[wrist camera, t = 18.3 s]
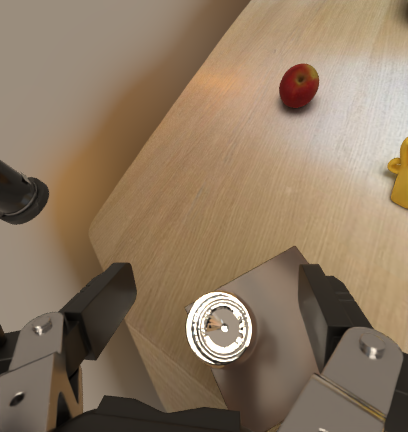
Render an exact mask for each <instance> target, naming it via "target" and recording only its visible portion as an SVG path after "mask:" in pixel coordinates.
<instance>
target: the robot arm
mask: <svg viewBox="0 0 408 432" xmlns="http://www.w3.org/2000/svg"><path fill="white" fill-rule="evenodd" d="M21 174H22V175H21ZM21 174H20V173H19V172H17V171H16V170H14V169H13V168H11V167H10V166H8V165H7V164H5V163H4V162H3V161H1V160H0V216H1V217H5V216H16V215H19V214H21V213H23V212H25V211H26V210H28V209H29V208H30V207H31V206H32V205H33V203H34V202H35V200H36V199H37V196H38V186H37V185H36V184H35V183H34V182H32V181H31V180H29V179H28V178H27V177H26V175H24V174H23V173H21ZM136 294H137V290H136V285H135V280H134V275H133V270H132V266H131V264H130V263H113V264H112V265H111V266H110V267H109V268H108V269H107V270H106V271H104V272H103V273H102V274H100V275H98V276H97V277H95V278H93V279H92V280H91V281H90V282H89V283H88V284H87V285H86V287H84V288H83V289H82V290H81V291H80V293H77V294H76V295H75V296H74V297H73V298H72V299H71V300H70V301H69V302H68V303H67V304H66V305H65V306H64V307H63V308H62V309H61V310H60V311H59V312H50V313H46V314H43V315H41V316H38V317H36V318H35V319H33V320H32V321H30V322H29V323H27V324H26V325H25V326H24V327H23V328H22V330H20V331H15V332H10V333H4V331H3V329H2V327H1V325H0V432H253V431H251V430H250V429H248V428H246V427H244V426H242V425H241V414H240V411H233V410H225V409H216V408H208V407H201V408H196V409H190V410H184V411H178V412H172V413H164V412H161V411H159V410H157V409H155V408H153V407H151V406H149V405H147V404H144V403H142V402H140V401H138V400H136V399H132V398H123V397H115V396H106V395H104V397H103V399H102V401H101V403H100V404H99V406H98V408H97V409H94V410H90V411H87V412H84V413H83V391H82V390H83V389H82V368H81V366H80V364H81V363H82V361H83V360H84V359H86V360H97V358H98V357H99V355H100V354H101V352H102V350H103V349H104V348H105V346H106V345H107V343H108V341H109V340H110V338H111V337H112V335H113V334H114V332H115V331H116V329H117V327H118V326H119V324H120V323H121V322H122V320H123V319H124V317H125V316H126V314H127V312H128V311H129V309H130V308H131V306H132V305H133V303H134V302H135V299H136ZM298 304H299V309H300V312H301V315H302V318H303V322H304V325H305V328H306V331H307V334H308V338H309V341H310V344H311V347H312V350H313V354H314V357H315V360H316V363H317V366H318V370H319V373H320V375H318V374H317V373H314V374H312V375H311V377H310V378H309V380H308V381H307V383H306V384H305V386H304V388H303V389H302V391H301V393H300V394H299V396H298V397H297V399H296V401H295V402H294V404H293V406H292V407H291V409H290V410H289V412H288V414H287V415H286V417H285V419H284V420H283V422H282V423H281V425H280V427H279V428H278V430H277V432H408V354H406V353H404V352H402V351H401V349H400V348H399V346H398V345H397V344H396V343H395V342H394V341H393V340H392V339H391V338H389V337H388V336H386V335H385V334H383V333H381V332H379V331H376V330H374V329H373V327H372V326H371V324H370V323H369V321H368V320H367V318H366V317H365V315H364V314H363V312H362V311H361V309H360V308H359V306H358V304H357V303H356V302H355V301H354V298H353V297H352V295H351V294H350V293H349V291H348V289H347V288H346V286H345V285H344V283H342V282H341V281H340V280H338V279H337V278H335V277H334V276H325V274H324V272H323V270H322V269H321V267H320V265H319V264H300V265H299V278H298Z"/></svg>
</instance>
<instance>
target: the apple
mask: <svg viewBox="0 0 408 432" xmlns="http://www.w3.org/2000/svg"><path fill="white" fill-rule="evenodd" d="M318 87H319V76H318V73H317V72H316V70H315V69H314V68H313V67H312V66H311V65H308V64H298V65H295V66H293V67H291V68H290V69H289V70H288V71H287V72H286V73H285V74H284V76H283V78H282V80H281V83H280V87H279V93H280V97H281V99H282V101H283V103H284V104H285V105H287V106H289V107H292V108H298V107H302V106H304V105H306V104H308V103H309V102H310V101H311V100H312V98H313V97H314V96H315V94H316V92H317V90H318Z"/></svg>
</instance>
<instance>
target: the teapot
mask: <svg viewBox="0 0 408 432" xmlns="http://www.w3.org/2000/svg"><path fill="white" fill-rule="evenodd" d="M397 164H401V165H397ZM388 169H389V171H391V172H393V173H395V174H398V175H397V178H396V181H395V184H394V187H393V191H392V195H391V200H392V201H393V202H395V203H396V204H398V205H400V206H402V207H404V208H407V209H408V137H407V138H406V139H405V140H404V141H403V143H402V145H401V148H400V158H394V159H392V160H391V161H390V162H389V163H388Z"/></svg>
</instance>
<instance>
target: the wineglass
mask: <svg viewBox="0 0 408 432" xmlns="http://www.w3.org/2000/svg"><path fill="white" fill-rule="evenodd" d="M186 337H187V341H188V344H189V346H190V348H191V350H192V352H193V353H194V355H195V356H196V357H197V358H198V359H199V360H200V361H201V362H203V363H204V364H205V365H207V366H210V367H212V368H215V369H231V368H234V367H237V366H239V365H241V364H242V363H243V362H245V361H246V360H247V359H248V358H249V357H250V355H251V354H252V353H253V351H254V349H255V346H256V344H257V338H258V323H257V319H256V316H255V314H254V311H253V310H252V308H251V307H250V305H249V304H248V303H247V302H246V301H245V300H244V299H243V298H242V297H240V296H239V295H237V294H235V293H233V292H229V291H223V290H218V291H212V292H209V293H207V294H204V295H203V296H201V297H200V298H199V299H198V300H197V301H196V302H195V303H194V304H193V306H192V307H191V309H190V311H189V313H188V316H187V320H186Z"/></svg>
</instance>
